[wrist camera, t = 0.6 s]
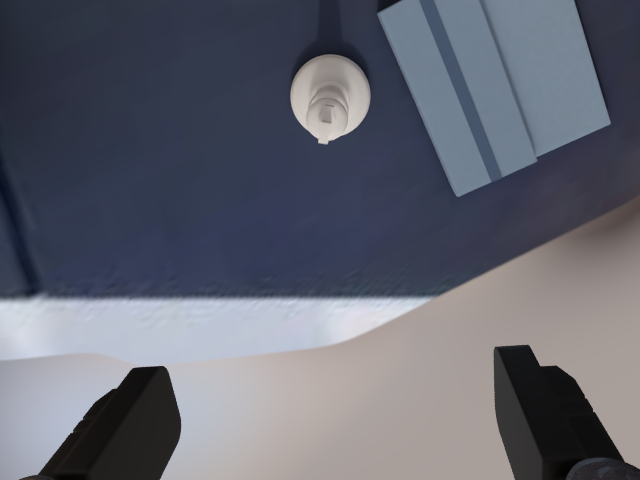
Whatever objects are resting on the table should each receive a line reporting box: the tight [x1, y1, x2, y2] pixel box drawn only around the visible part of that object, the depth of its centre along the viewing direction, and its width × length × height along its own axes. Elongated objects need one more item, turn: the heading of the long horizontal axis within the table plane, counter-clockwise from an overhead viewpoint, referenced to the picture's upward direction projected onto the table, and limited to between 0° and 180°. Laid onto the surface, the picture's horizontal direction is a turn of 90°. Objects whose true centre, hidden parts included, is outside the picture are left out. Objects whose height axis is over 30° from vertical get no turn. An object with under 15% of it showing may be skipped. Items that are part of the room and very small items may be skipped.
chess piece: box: [290, 54, 371, 144], centre depth 27 cm, size 5×5×10 cm
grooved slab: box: [377, 0, 611, 197], centre depth 30 cm, size 12×10×2 cm
